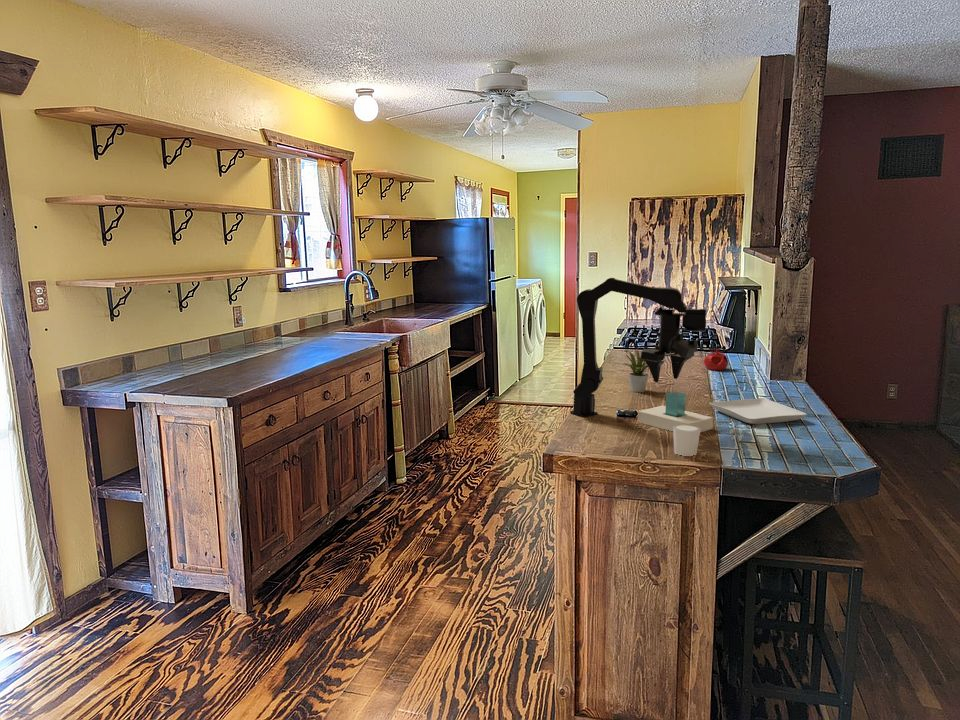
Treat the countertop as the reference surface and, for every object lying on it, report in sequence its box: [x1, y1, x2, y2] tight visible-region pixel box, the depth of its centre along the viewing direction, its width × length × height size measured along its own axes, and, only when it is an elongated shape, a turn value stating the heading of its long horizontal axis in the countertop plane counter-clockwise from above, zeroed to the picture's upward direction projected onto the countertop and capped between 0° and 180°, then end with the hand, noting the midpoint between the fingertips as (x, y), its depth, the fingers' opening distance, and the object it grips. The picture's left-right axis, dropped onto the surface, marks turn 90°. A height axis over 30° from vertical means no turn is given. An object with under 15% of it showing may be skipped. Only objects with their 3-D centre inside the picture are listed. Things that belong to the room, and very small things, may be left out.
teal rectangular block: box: [665, 390, 687, 418], centre depth 199 cm, size 4×4×10 cm
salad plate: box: [709, 397, 808, 425], centre depth 210 cm, size 21×21×3 cm
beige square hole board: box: [637, 405, 714, 433], centre depth 199 cm, size 12×18×4 cm, turn 38°
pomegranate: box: [703, 348, 729, 372], centre depth 287 cm, size 10×10×9 cm
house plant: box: [621, 347, 650, 393], centre depth 243 cm, size 14×14×16 cm
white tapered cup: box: [672, 425, 701, 457], centre depth 173 cm, size 7×7×7 cm
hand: (666, 380), depth 203 cm, fingers open, 9 cm apart
